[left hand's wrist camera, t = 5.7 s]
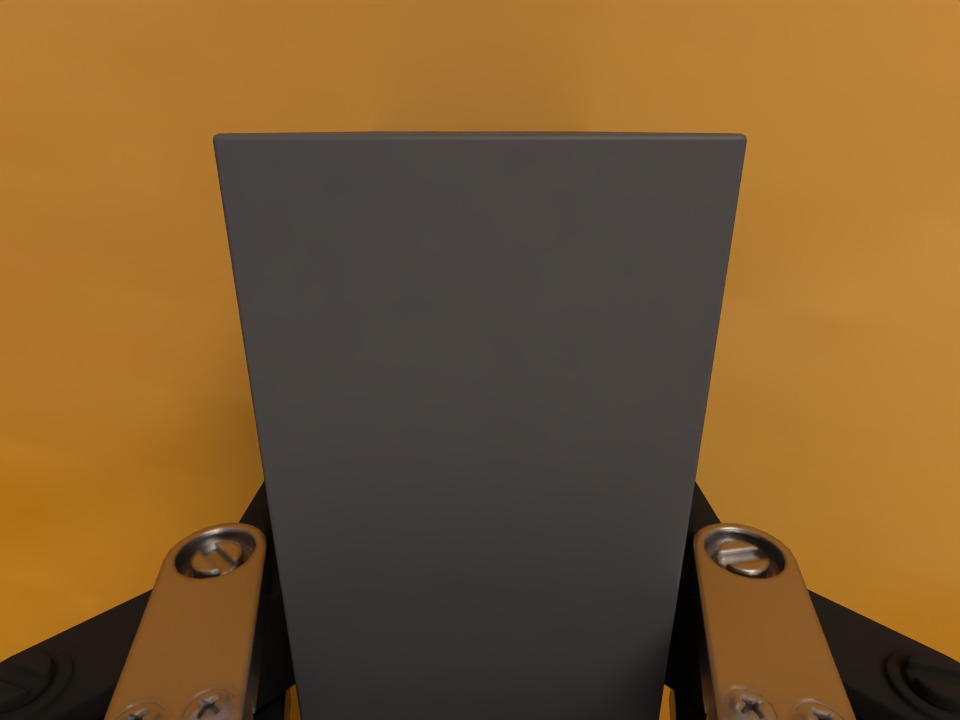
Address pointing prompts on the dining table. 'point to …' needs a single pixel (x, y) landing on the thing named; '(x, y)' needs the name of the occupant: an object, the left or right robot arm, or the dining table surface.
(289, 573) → the beam
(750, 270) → the dining table surface
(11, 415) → the dining table surface
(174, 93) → the dining table surface
